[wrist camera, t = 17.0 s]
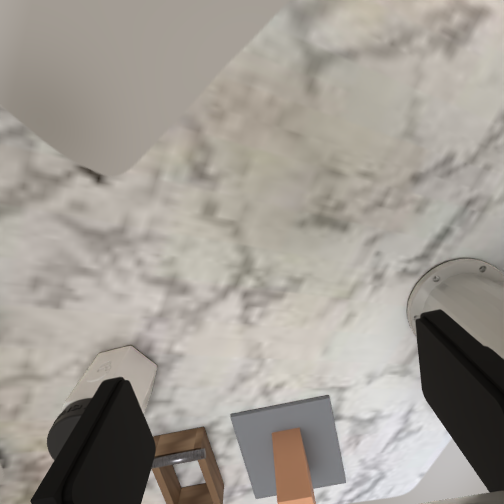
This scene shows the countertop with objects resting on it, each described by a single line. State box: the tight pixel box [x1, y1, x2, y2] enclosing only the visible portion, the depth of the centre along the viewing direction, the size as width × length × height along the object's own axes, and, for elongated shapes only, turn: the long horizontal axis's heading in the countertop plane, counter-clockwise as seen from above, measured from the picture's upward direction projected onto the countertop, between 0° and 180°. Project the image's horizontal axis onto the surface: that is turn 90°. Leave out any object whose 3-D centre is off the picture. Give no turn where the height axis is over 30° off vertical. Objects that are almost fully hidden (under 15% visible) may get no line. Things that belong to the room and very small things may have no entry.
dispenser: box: [151, 427, 224, 504], centre depth 49 cm, size 8×12×5 cm
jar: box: [47, 346, 157, 461], centre depth 41 cm, size 9×8×12 cm
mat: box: [231, 395, 346, 499], centre depth 51 cm, size 14×16×1 cm
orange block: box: [272, 428, 316, 504], centre depth 46 cm, size 4×8×10 cm, turn 13°
